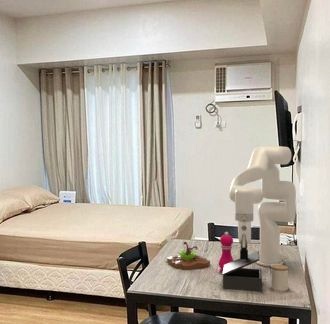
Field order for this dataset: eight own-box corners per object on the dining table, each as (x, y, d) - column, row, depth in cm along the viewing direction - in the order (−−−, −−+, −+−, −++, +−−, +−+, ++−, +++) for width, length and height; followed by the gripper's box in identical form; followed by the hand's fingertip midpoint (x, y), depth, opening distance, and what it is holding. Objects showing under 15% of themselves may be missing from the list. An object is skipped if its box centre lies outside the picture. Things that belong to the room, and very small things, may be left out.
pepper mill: (232, 276, 224) (232, 233, 223) (216, 274, 228) (216, 232, 226) (236, 272, 230) (236, 231, 229) (221, 270, 234) (221, 229, 233)
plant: (193, 257, 259) (193, 236, 258) (215, 266, 241) (215, 244, 240) (160, 261, 252) (160, 240, 251) (181, 271, 233) (181, 248, 233)
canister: (281, 286, 208) (282, 264, 207) (291, 291, 201) (291, 268, 200) (267, 288, 206) (268, 265, 206) (277, 293, 200) (277, 269, 199)
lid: (259, 252, 212) (258, 250, 212) (259, 260, 199) (259, 258, 199) (224, 266, 218) (224, 264, 218) (223, 275, 204) (222, 273, 204)
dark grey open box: (261, 283, 213) (261, 269, 213) (261, 293, 199) (262, 278, 199) (224, 280, 218) (224, 266, 218) (222, 290, 204) (222, 275, 204)
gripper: (253, 220, 198) (253, 264, 199) (253, 214, 212) (253, 255, 213) (234, 219, 201) (234, 262, 202) (235, 213, 215) (235, 254, 216)
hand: (243, 259), depth 208 cm, fingers closed
